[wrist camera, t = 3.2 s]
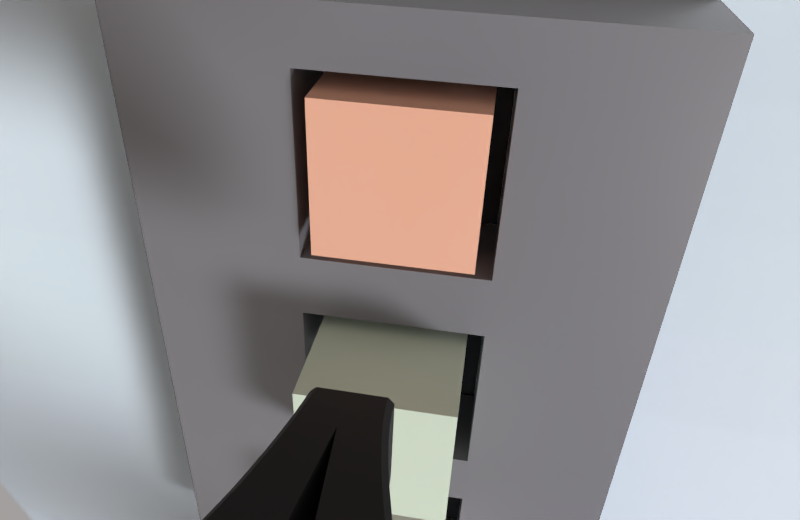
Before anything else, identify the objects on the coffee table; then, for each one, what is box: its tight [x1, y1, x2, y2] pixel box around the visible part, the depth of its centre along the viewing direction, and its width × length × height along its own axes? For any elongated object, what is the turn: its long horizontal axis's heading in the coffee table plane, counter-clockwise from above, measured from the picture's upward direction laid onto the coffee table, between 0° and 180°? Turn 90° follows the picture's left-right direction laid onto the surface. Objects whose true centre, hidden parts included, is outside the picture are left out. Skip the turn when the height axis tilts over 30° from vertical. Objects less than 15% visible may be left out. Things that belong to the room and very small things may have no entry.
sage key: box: [292, 315, 468, 520], centre depth 17 cm, size 4×4×3 cm
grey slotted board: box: [95, 0, 754, 520], centre depth 19 cm, size 19×12×2 cm, turn 178°
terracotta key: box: [305, 71, 497, 275], centre depth 15 cm, size 4×4×3 cm
